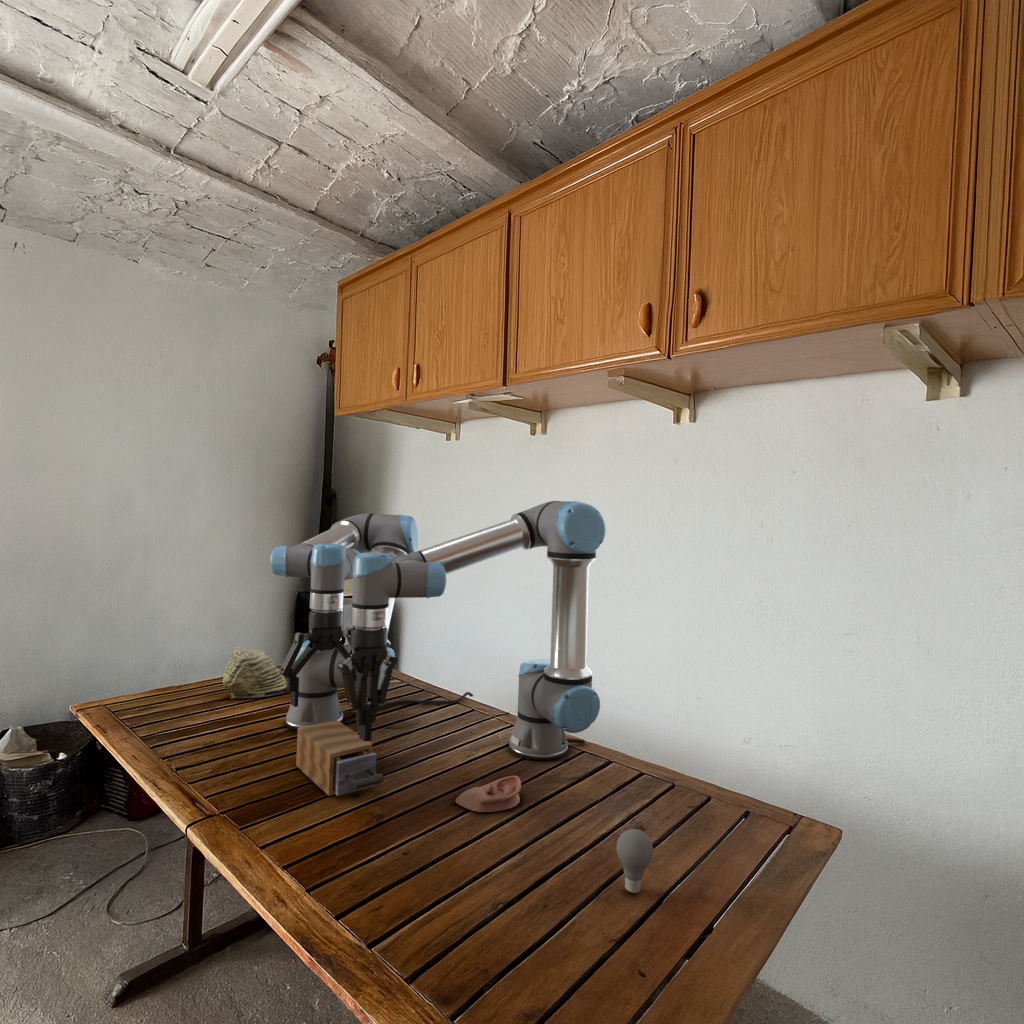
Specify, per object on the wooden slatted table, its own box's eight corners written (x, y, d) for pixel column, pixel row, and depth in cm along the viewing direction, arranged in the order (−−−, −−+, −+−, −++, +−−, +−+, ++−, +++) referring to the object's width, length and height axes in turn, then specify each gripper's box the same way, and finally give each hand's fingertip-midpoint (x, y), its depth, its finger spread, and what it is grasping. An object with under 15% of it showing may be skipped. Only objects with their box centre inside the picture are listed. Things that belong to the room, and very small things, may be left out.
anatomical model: (451, 789, 131) (466, 766, 142) (450, 808, 131) (465, 784, 142) (514, 798, 128) (524, 774, 139) (513, 817, 128) (523, 792, 139)
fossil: (218, 695, 195) (220, 647, 195) (278, 685, 208) (279, 640, 207) (228, 703, 189) (230, 653, 188) (289, 692, 201) (290, 645, 201)
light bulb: (610, 879, 108) (613, 822, 108) (644, 879, 109) (647, 822, 109) (619, 902, 102) (622, 840, 102) (655, 901, 103) (658, 840, 103)
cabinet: (371, 784, 141) (372, 744, 140) (328, 796, 134) (330, 754, 134) (335, 756, 155) (337, 719, 154) (296, 765, 148) (297, 727, 148)
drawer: (388, 796, 133) (389, 763, 133) (349, 807, 128) (351, 773, 128) (341, 759, 151) (342, 729, 151) (305, 767, 145) (307, 737, 145)
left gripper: (278, 617, 137) (274, 714, 138) (382, 608, 153) (378, 695, 154) (266, 611, 143) (263, 704, 144) (368, 603, 159) (364, 687, 159)
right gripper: (348, 633, 125) (343, 751, 126) (406, 627, 134) (401, 738, 134) (332, 626, 131) (328, 739, 131) (388, 620, 139) (384, 727, 140)
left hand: (322, 700), depth 149 cm, fingers open, 13 cm apart
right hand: (365, 738), depth 133 cm, fingers closed
